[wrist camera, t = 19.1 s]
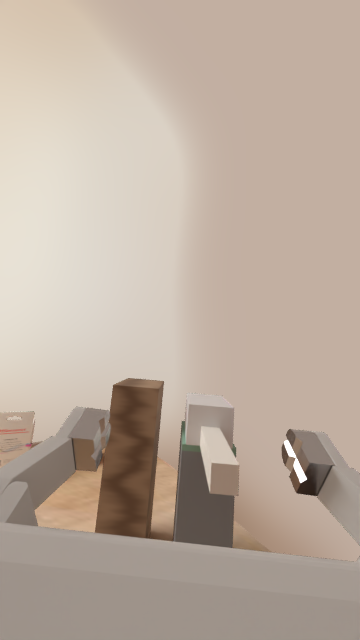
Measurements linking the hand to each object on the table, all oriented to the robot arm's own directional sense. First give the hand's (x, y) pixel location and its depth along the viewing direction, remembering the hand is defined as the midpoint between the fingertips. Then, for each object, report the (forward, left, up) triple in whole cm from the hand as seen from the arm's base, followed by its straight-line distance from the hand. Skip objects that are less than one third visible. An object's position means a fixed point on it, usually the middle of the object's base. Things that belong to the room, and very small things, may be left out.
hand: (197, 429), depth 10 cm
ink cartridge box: (-40, +47, -28) cm, 68 cm away
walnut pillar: (-7, +29, -28) cm, 41 cm away
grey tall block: (+4, +25, -28) cm, 38 cm away
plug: (+4, +20, -8) cm, 22 cm away
